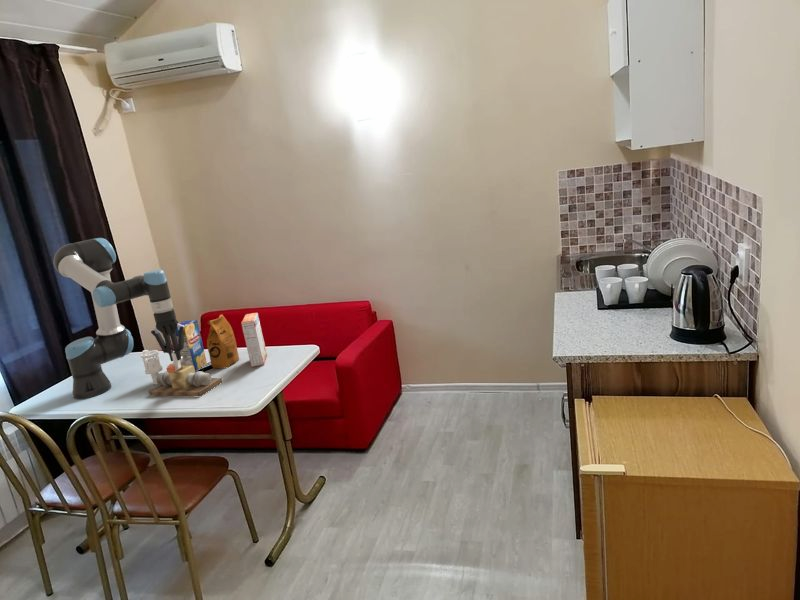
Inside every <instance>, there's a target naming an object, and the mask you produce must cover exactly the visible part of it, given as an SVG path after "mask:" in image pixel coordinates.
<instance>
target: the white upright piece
mask: <svg viewBox="0 0 800 600" xmlns="http://www.w3.org/2000/svg"><path fill="white" fill-rule="evenodd" d="M140 358H141V359H142V361H143V365H144V368H145V370H144V373H145V374H146V375H151V380H152V383H153V385H154V384H155V385H159V384H158V383H157V376H158V374H159V373H161V372H162V371H163V370H164V368H163V366H162V365H161V362H160V358H159V350H157V349H153V350H148V349H144V350H142V353H141V354H140Z"/></svg>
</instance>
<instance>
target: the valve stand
mask: <svg viewBox="0 0 800 600" xmlns="http://www.w3.org/2000/svg"><path fill="white" fill-rule="evenodd" d="M158 373H159V374H158V376H157V383H158V384H157V386H155V387H154V388H152V389H150V390H149V391H148V394H149V397H179V396H201V397H202V395H203V394H204V395H206V394H207V393H209V392H210V391H212V390H214V389H215V388H217V387H218V386H219V384H220V383H221V384H223V383H222V382H223V379H222V377H212V374H210V373H209V372H204V371H203V370H202V371H197V372H196V373H195V369H194V366H183V365H182V362H181V368H179V369H176V371H175V372H171V373H167V370H166V371H165V372H158ZM221 384H220V385H221ZM217 385H218V386H217ZM216 386H217V387H216ZM214 387H215V388H214ZM213 388H214V389H213ZM211 389H212V390H211ZM208 391H209V392H208ZM206 392H207V393H206ZM205 393H206V394H205ZM204 395H203V396H204Z"/></svg>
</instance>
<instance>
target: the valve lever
mask: <svg viewBox="0 0 800 600" xmlns="http://www.w3.org/2000/svg"><path fill="white" fill-rule="evenodd" d="M183 361H184V360H183V356H181V359H180V363H181V362H183ZM166 371H167V373H171V372H175V371H176V370H175V366H174V362H173V361H172V363H169V364H168V365H167V367H166Z"/></svg>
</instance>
